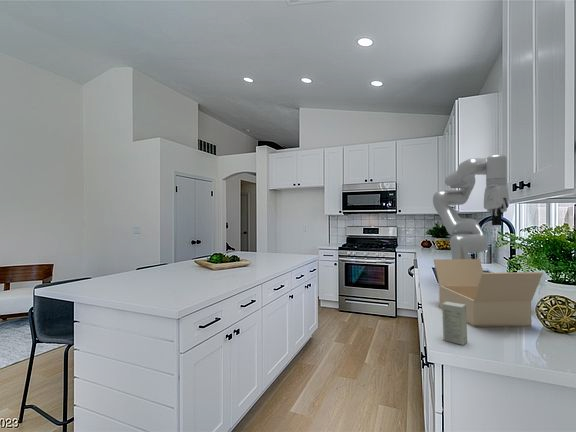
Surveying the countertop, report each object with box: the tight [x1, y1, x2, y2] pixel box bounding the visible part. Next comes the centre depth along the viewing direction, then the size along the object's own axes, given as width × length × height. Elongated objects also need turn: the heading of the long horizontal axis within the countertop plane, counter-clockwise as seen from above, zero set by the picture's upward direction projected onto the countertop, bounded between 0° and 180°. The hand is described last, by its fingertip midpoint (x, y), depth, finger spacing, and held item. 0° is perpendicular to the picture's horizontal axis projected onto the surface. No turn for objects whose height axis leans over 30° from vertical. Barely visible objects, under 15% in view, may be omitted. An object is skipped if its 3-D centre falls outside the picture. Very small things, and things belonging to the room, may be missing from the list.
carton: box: [438, 285, 532, 328], centre depth 124 cm, size 24×22×10 cm
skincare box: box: [442, 302, 468, 346], centre depth 100 cm, size 6×4×12 cm
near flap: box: [433, 258, 484, 286], centre depth 139 cm, size 12×22×1 cm
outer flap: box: [474, 271, 544, 302], centre depth 110 cm, size 12×22×1 cm
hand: (496, 225), depth 133 cm, fingers closed
